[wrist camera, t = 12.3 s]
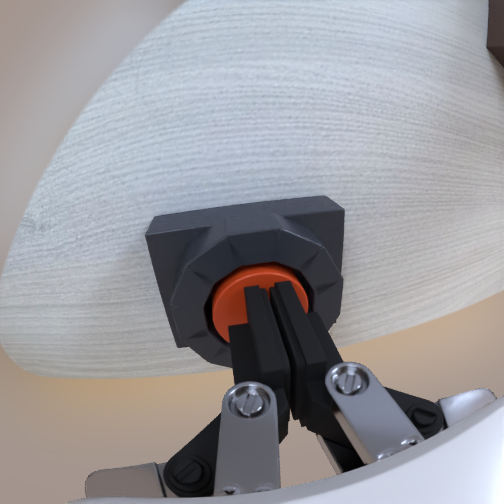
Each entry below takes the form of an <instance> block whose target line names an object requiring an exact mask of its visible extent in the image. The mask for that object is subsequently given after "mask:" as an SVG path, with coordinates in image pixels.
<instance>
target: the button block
mask: <svg viewBox="0 0 504 504" xmlns="http://www.w3.org/2000/svg"><path fill="white" fill-rule="evenodd" d="M344 215H345V210H344V209H343V208H342V207H341V206H339V205H338V204H337V203H335V202H334V201H332V200H331V199H330V198H328V197H327V196H314V197H303V198H293V199H283V200H273V201H264V202H256V203H247V204H239V205H231V206H223V207H216V208H208V209H201V210H194V211H187V212H180V213H174V214H167V215H161V216H155V217H154V218H153V220H152V222H151V224H150V226H149V228H148V230H147V232H146V234H145V237H146V241H147V245H148V249H149V253H150V257H151V261H152V265H153V269H154V272H155V276H156V280H157V283H158V287H159V291H160V294H161V298H162V301H163V304H164V308H165V311H166V314H167V317H168V321H169V324H170V327H171V330H172V333H173V336H174V339H175V342H176V345H177V347H178V348H182V347H190V348H191V349H192V350H194V351H195V352H196V353H197V354H199V355H200V356H201V357H202V358H204V359H205V360H206V361H207V362H210V363H212V364H217V365H221V366H225V367H230V368H233V367H232V359H231V350H230V343H229V342H227V341H226V340H225V339H224V338H223V337H222V336H221V335H220V334H219V333H218V331H217V330H216V328H215V326H214V322H213V316H212V295H211V290H212V288H213V286H214V284H215V283H216V282H218V281H219V280H221V279H222V278H224V277H225V276H227V275H228V274H229V273H231V272H232V271H234V270H235V269H237V268H238V267H240V266H245V265H252V264H259V263H266V262H277V263H280V264H282V265H285V266H288V267H291V268H293V270H294V272H295V274H296V276H297V277H298V279H299V281H300V283H301V285H302V287H303V289H304V290H305V293H306V295H307V299H308V312H307V313H311V312H317V313H318V314H319V315H320V317H321V319H322V321H323V323H324V325H325V327H326V329H327V331H328V330H329V329H330V328H331V326H332V325H333V324H334V323H336V319H337V318H338V316H339V315H340V309H341V300H342V290H343V277H342V275H341V268H342V254H343V237H344Z"/></svg>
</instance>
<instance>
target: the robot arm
mask: <svg viewBox="0 0 504 504" xmlns="http://www.w3.org/2000/svg"><path fill="white" fill-rule="evenodd" d="M269 292H270V301H269V298H268V295H267V292H266V289H265V288H262V289H260V287H259V285H255V286H248V287H244V295H245V304H246V313H247V321H248V323H244V324H237V325H230V326H228V333H229V342H230V350H231V359H232V367H233V375H234V383H235V385H234V386H233V387H232V388H230V389H229V390H228V391H227V392H226V394H225V395H224V398H223V402H222V411H221V413H220V414H219V415H218V416H217V417H216V418H215V419H214V420H213V421H212V422H211V423H210V424H209V425H207V426H206V427H205V428H204V429H203V430H202V431H201V432H200V433H199V434H198V435H197V436H196V437H195V438H194V439H192V440H191V441H190V442H189V443H188V444H187V445H185V446H184V447H183V448H182V449H181V450H180V451H179V452H177V453H176V454H175V455H174V456H173V457H172V458H171V459H170V460H169V461H168V462H166V463H161V464H156V463H155V462H154V463H148V464H142V465H137V466H129V467H123V468H113V469H104V470H98V471H95V472H93V473H91V474H90V475H89V476H88V478H87V480H86V481H85V493H86V498H81V499H77V500H73V501H70V502H67V503H64V504H504V395H503V396H501V397H500V398H497V397H496V396H495V394H494V393H493V392H492V391H490V390H489V389H485V388H479V389H475V390H472V391H469V392H465V393H461V394H458V395H454V396H450V397H446V398H442V399H439V400H438V401H437V402H435V403H433V402H431V401H429V400H426V399H422V398H419V397H416V396H412V395H409V394H406V393H403V392H399V391H396V390H393V389H390V388H387V387H384V386H382V384H381V383H380V382H379V381H378V379H377V378H376V377H375V376H374V374H373V373H372V372H371V371H370V370H369V369H368V368H367V367H366V366H364V365H362V364H360V363H356V362H343V360H342V358H341V356H340V354H339V352H338V350H337V348H336V346H335V344H334V342H333V340H332V338H331V336H330V335H329V333H328V331H327V329H326V327H325V325H324V323H323V321H322V319H321V317H320V315H319V314H318V313H317V312H311V313H305V310H304V308H303V306H302V304H301V302H300V300H299V298H298V296H297V294H296V291H295V289H294V287H293V285H292V283H291V281H290V280H289V281H282V282H275V284H274V287H270V288H269ZM290 409H291V412H292V416H293V419H294V420H298V419H299V421H300V424H301V427H304V426H306V427H307V429H308V430H309V431H311V432H314V433H316V436H317V439H318V441H319V443H320V445H321V447H322V449H323V450H324V452H325V454H326V456H327V458H328V459H329V461H330V463H331V465H332V467H333V469H334V470H335V472H336V474H337V475H336V476H332V477H328V478H325V479H321V480H317V481H313V482H309V483H305V484H300V485H296V486H291V487H286V488H282V489H281V484H280V461H279V444H280V443H281V442H282V440H283V439H284V438H285V436H287V434H288V421H289V419H290Z"/></svg>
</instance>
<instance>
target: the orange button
mask: <svg viewBox="0 0 504 504" xmlns="http://www.w3.org/2000/svg"><path fill="white" fill-rule="evenodd" d="M289 280H290V281H291V283H292V285H293V287H294V289H295V291H296V294H297V296H298V298H299V300H300V302H301V304H302V306H303V308H304V310H305V313H307V312H308V299H307V295H306V293H305V290H304V289H303V287H302V285H301V283H300V281H299V279H298V277H297V276H296V274H295V272H294V270H293V268H291V267H288V266H285V265H282V264H280V263H277V262H266V263H259V264H252V265H245V266H240V267H238V268H237V269H235V270H234V271H232V272H231V273H229V274H228V275H227V276H225V277H224V278H222V279H221V280H219V281H218V282H216V283H215V284H214V286H213V288H212V290H211V295H212V316H213V322H214V326H215V328H216V330H217V331H218V333H219V334H220V335H221V336H222V337H223V338H224V339H225V340H226V341H227V342H229V333H228V326H230V325H237V324H244V323H248V321H247V313H246V304H245V295H244V287H248V286H255V285H259V287H260V289H262V288H265V289H266V292H267V295H268V298H269V301H270V292H269V288H270V287H274V284H275V282H282V281H289ZM229 343H230V342H229Z"/></svg>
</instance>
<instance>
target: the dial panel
mask: <svg viewBox="0 0 504 504" xmlns="http://www.w3.org/2000/svg"><path fill="white" fill-rule="evenodd" d="M487 48H488V49H489V50H490V51H491V53H492V54H493V55H494V56H495V57H496V58H497V60H498V61H499V62H500V63H501V65H502V66H503V67H504V0H489V19H488V36H487Z"/></svg>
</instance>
